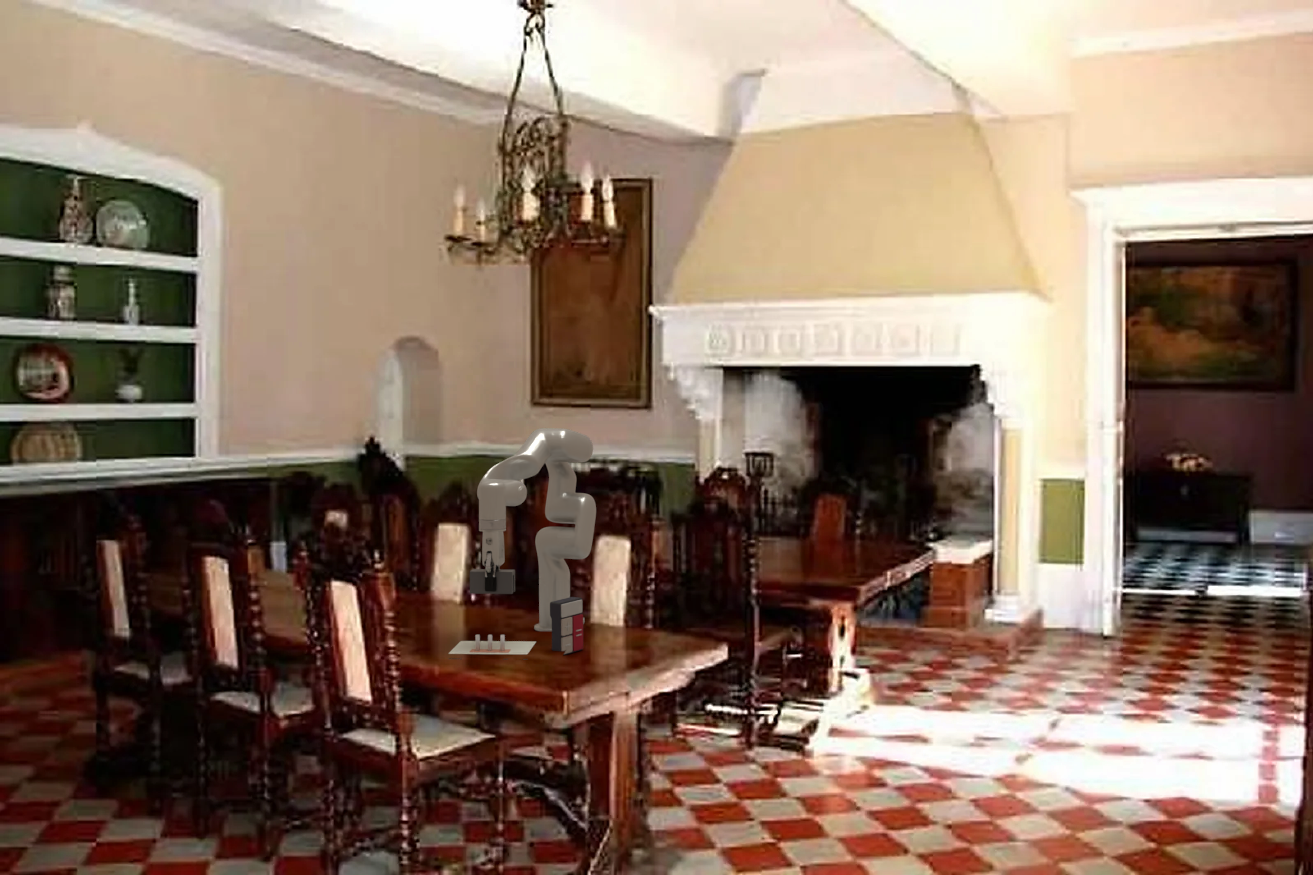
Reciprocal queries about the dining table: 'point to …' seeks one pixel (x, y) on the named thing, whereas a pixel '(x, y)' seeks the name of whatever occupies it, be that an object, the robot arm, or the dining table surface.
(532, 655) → the dining table surface
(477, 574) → the housing
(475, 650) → the header board
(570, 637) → the miniature cabinet
